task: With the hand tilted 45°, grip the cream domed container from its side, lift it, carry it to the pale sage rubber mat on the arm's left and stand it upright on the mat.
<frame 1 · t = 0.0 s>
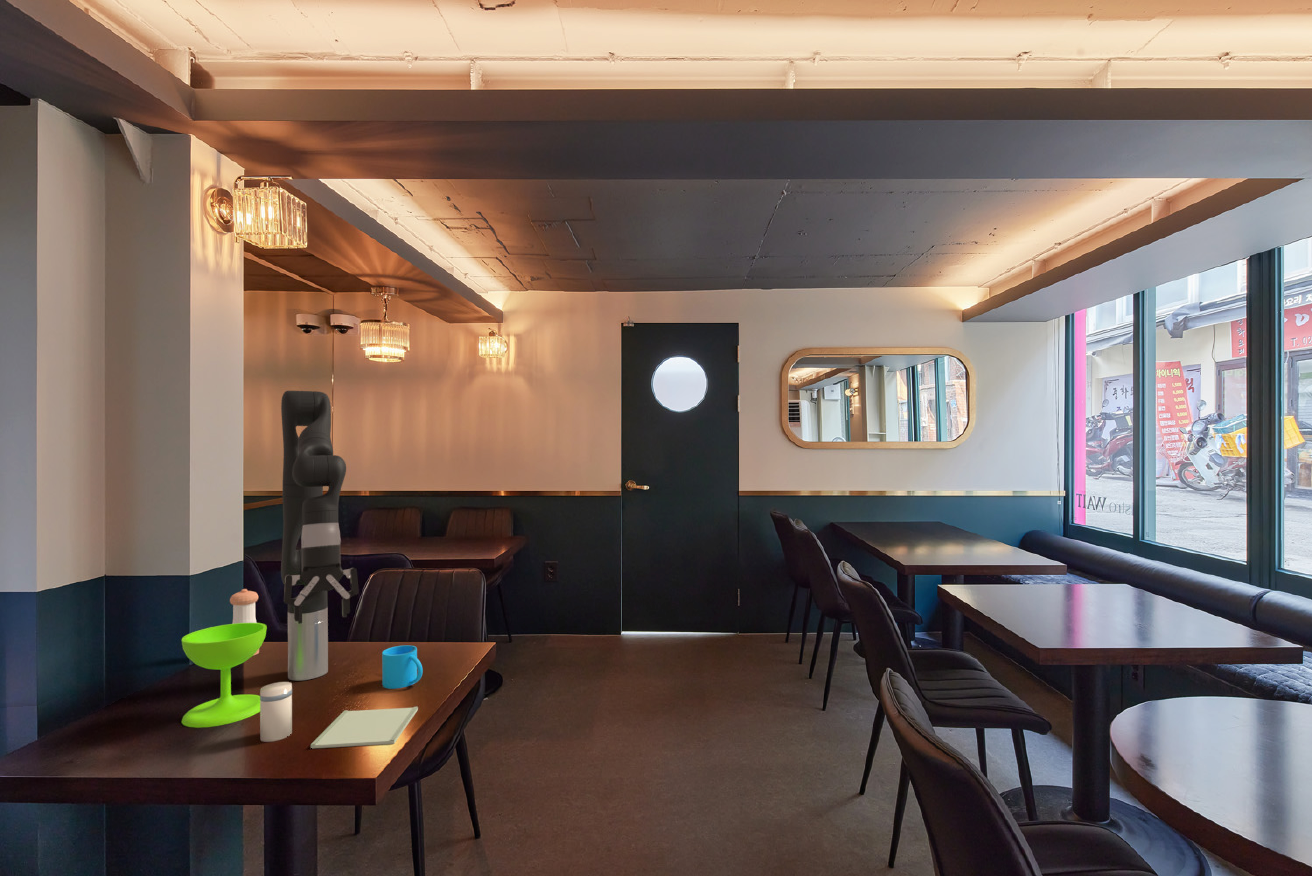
hand: (322, 620, 133), 22 cm above the table, tool pointing down, fingers open, 8 cm apart
cream domed container: (276, 735, 127), on the table
mug: (405, 684, 155), on the table
salt shaker: (244, 655, 179), on the table
wineglass: (225, 712, 139), on the table
mat: (367, 728, 130), on the table
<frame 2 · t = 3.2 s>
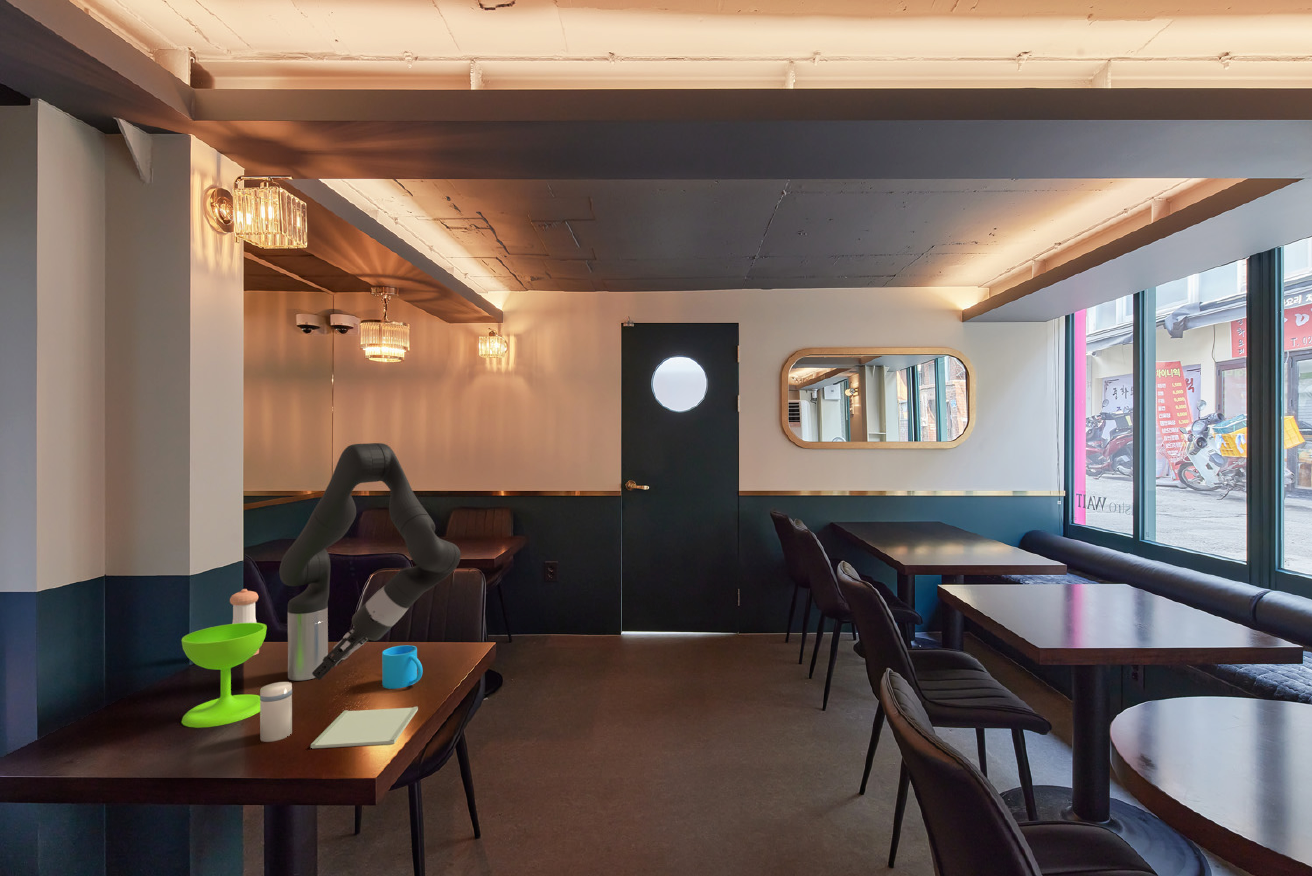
hand: (325, 669, 128), 13 cm above the table, tool tilted 45°, fingers open, 8 cm apart
nothing on the table moved.
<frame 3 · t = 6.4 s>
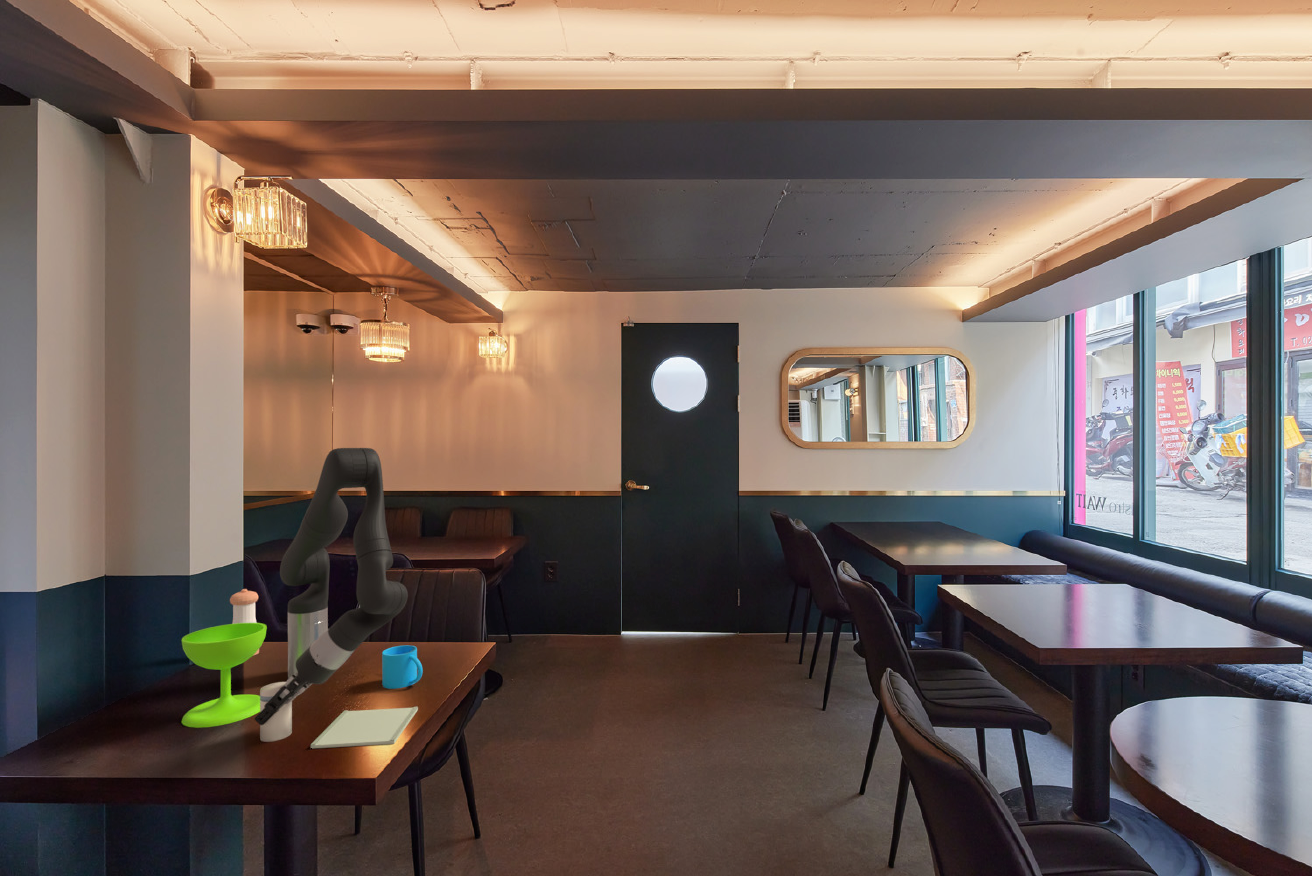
hand: (267, 715, 127), 4 cm above the table, tool tilted 45°, fingers closed on cream domed container, 5 cm apart
cream domed container: (276, 735, 127), on the table, touching gripper
everything else where it was.
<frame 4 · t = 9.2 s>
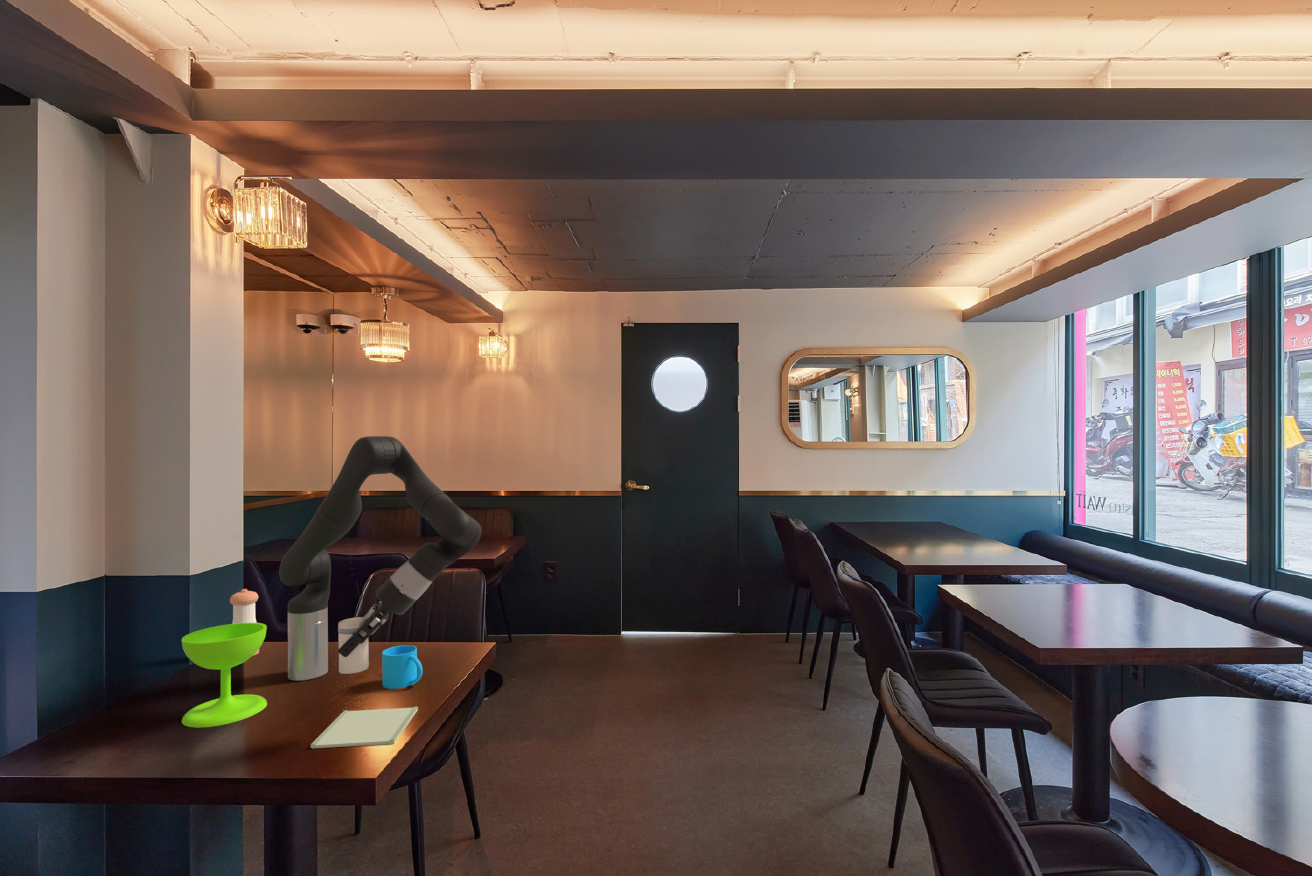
hand: (344, 649, 127), 17 cm above the table, tool tilted 45°, fingers closed on cream domed container, 5 cm apart
cream domed container: (354, 669, 128), point 13 cm above the table, touching gripper
everything else where it was.
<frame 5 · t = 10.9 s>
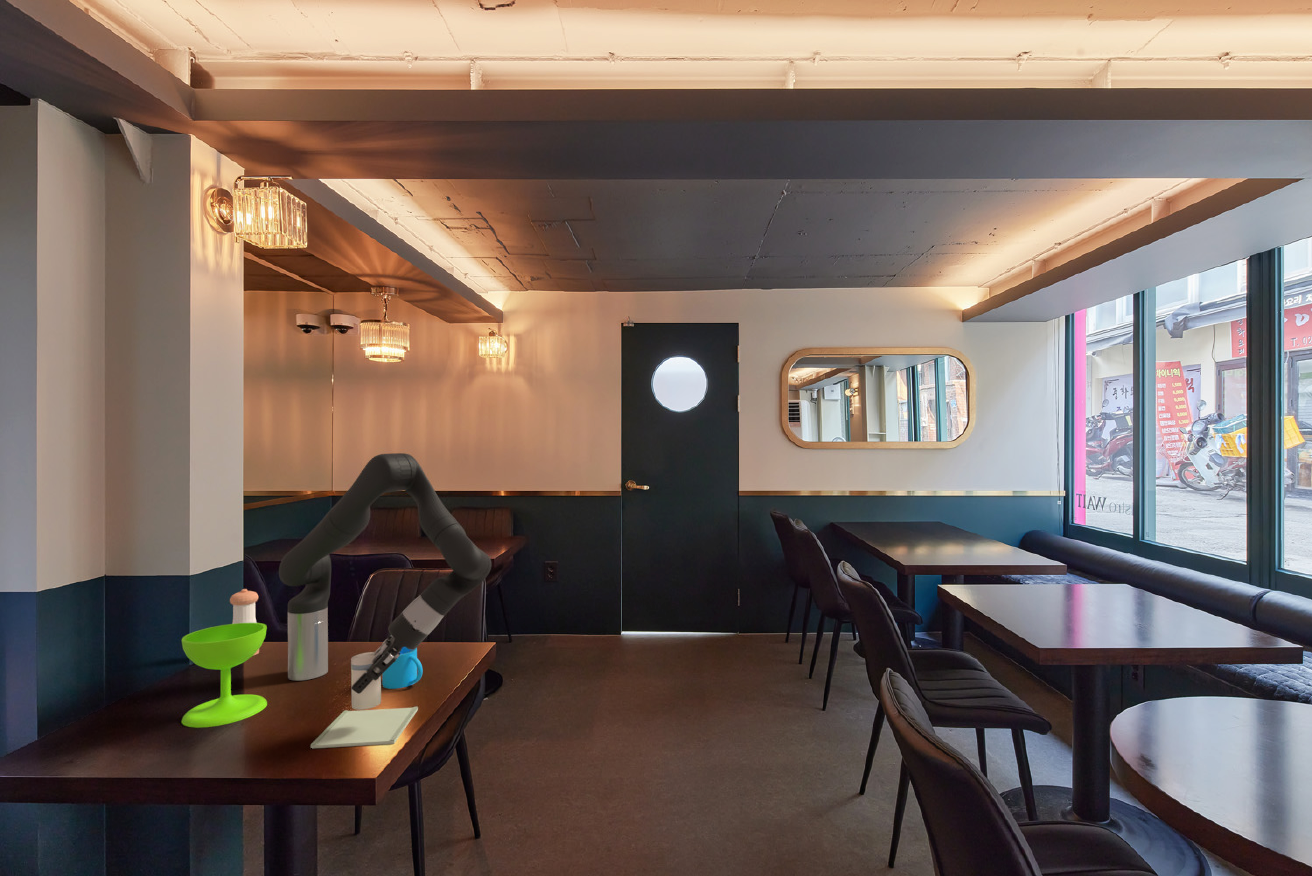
hand: (357, 685, 128), 10 cm above the table, tool tilted 45°, fingers closed on cream domed container, 5 cm apart
cream domed container: (366, 704, 129), point 5 cm above the table, touching gripper
everything else where it was.
when the fingers open (6 cm above the table, at t = 12.1 s): cream domed container drops 1 cm, resting on mat.
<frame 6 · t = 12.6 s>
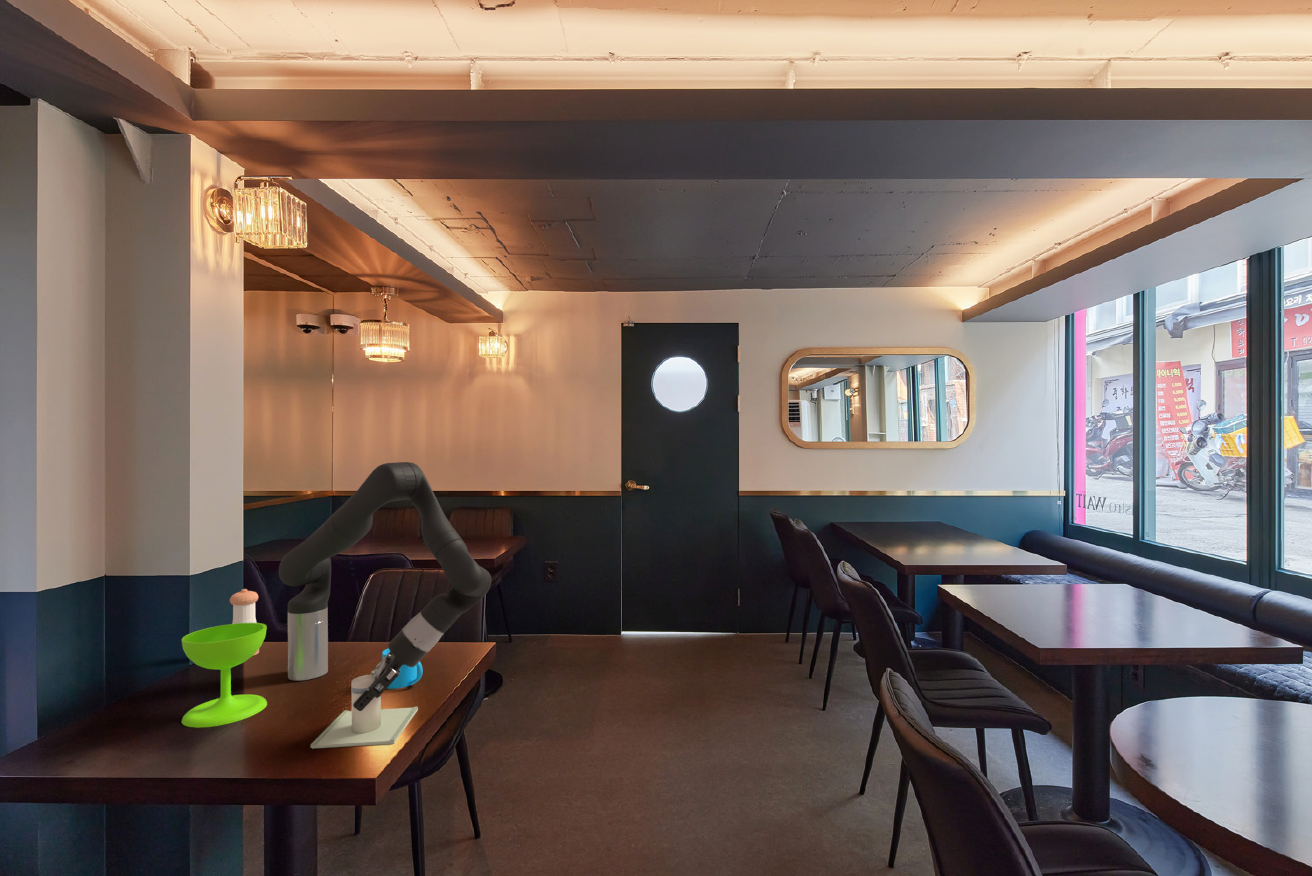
hand: (358, 700, 128), 6 cm above the table, tool tilted 45°, fingers open, 8 cm apart
cream domed container: (366, 727, 129), point 1 cm above the table, touching mat
everything else where it was.
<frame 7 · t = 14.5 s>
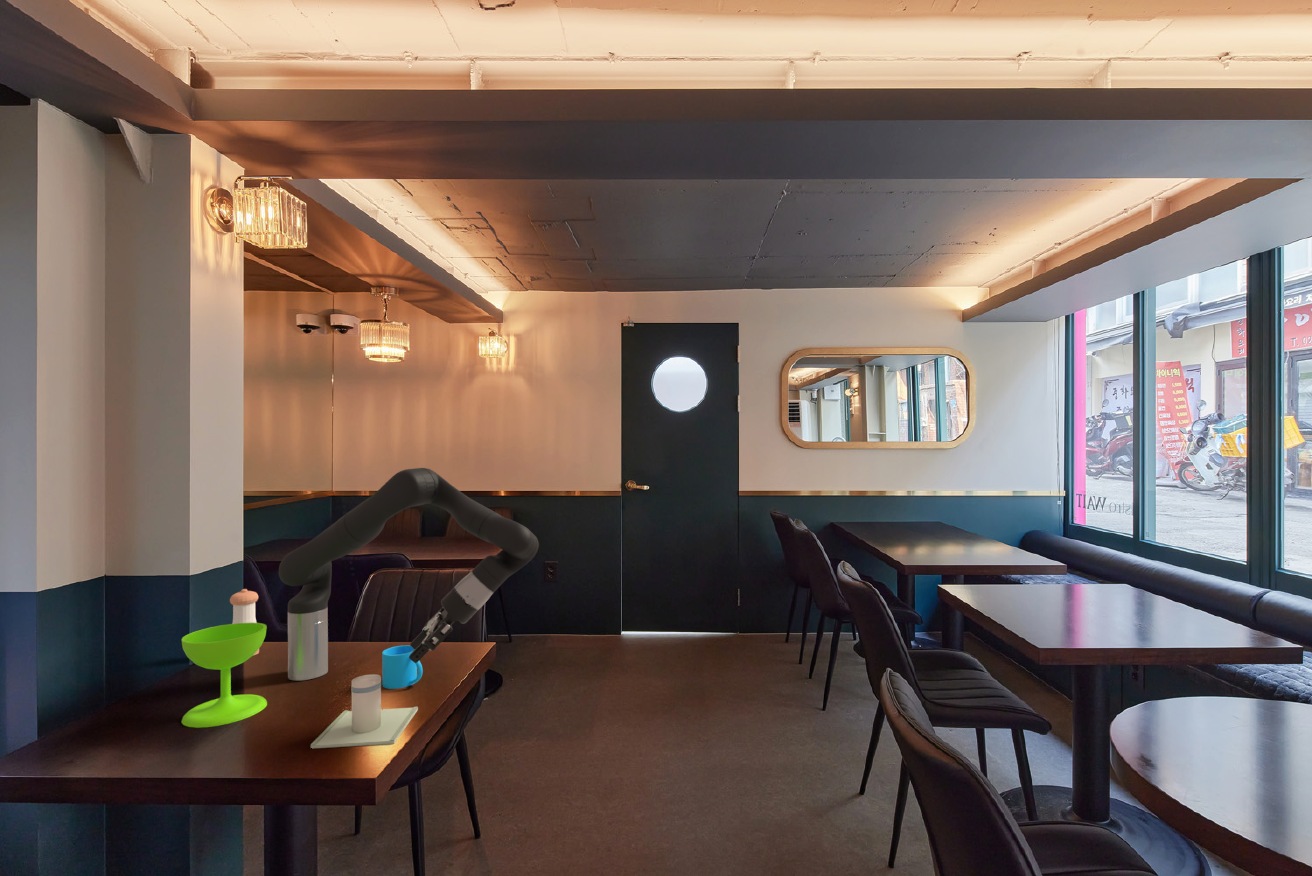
hand: (412, 653, 134), 14 cm above the table, tool tilted 45°, fingers open, 8 cm apart
nothing on the table moved.
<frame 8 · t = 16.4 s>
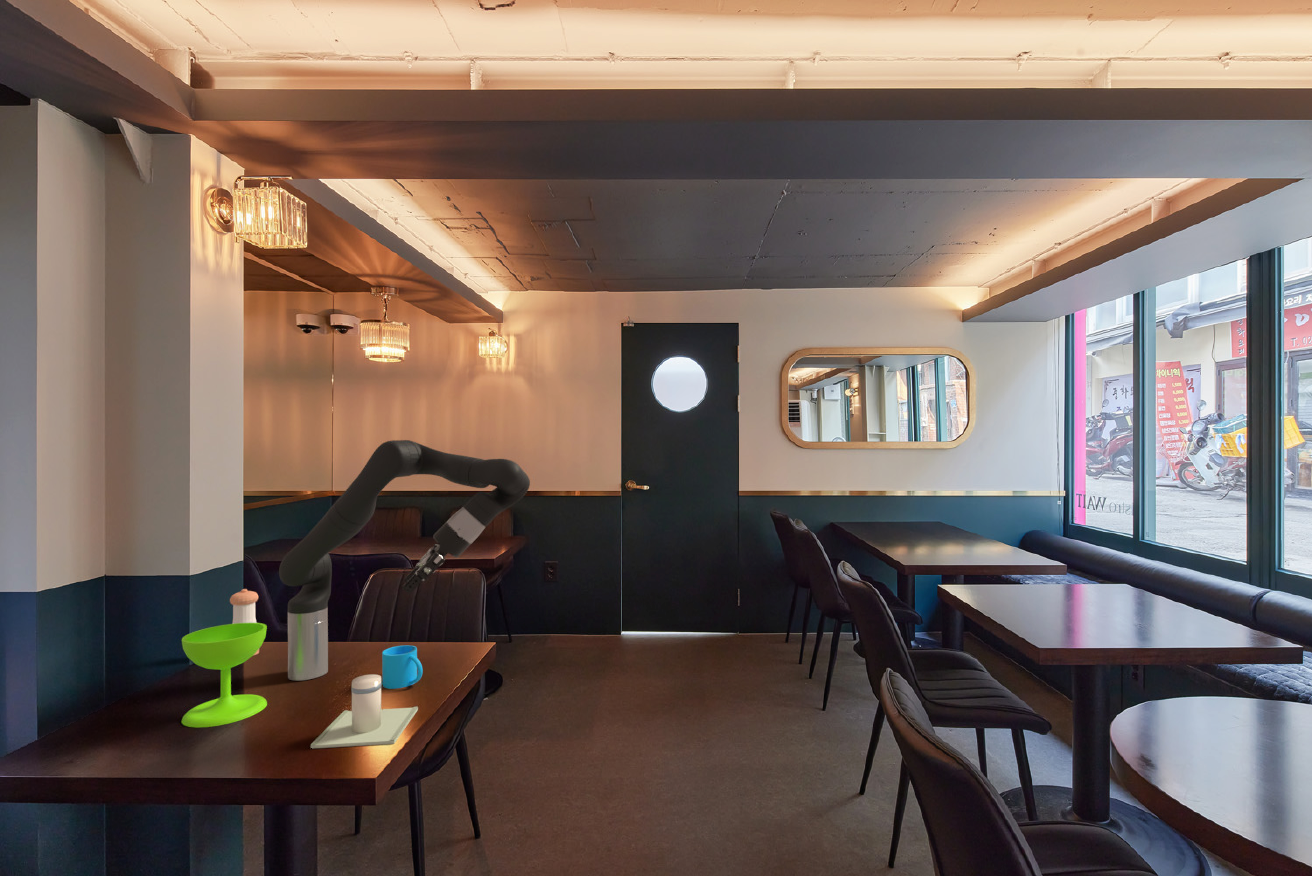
hand: (406, 586, 136), 29 cm above the table, tool tilted 45°, fingers open, 8 cm apart
nothing on the table moved.
at the end: cream domed container inside the target area on the mat (1.0 cm from its centre), point 0.7 cm above the mat's base; cream domed container tilted 2°; the gripper is holding nothing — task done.
